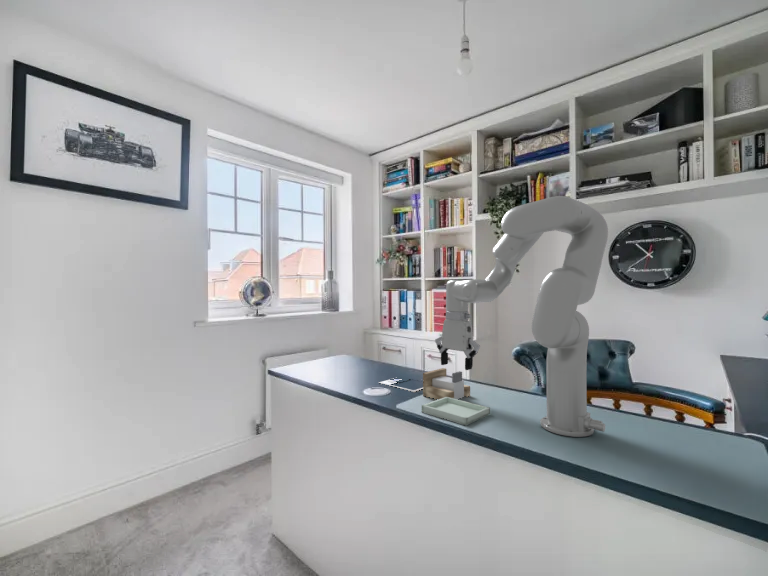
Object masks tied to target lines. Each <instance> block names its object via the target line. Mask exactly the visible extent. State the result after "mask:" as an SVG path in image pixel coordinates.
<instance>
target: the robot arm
mask: <svg viewBox="0 0 768 576" xmlns="http://www.w3.org/2000/svg"><path fill="white" fill-rule="evenodd" d="M500 223H501V225H500V227H501V230H502V233H504V234H503V236H501V237H500V239H499V240H498V241H497V243H496V244H495V245H494V246H493V248H492V250H491V251H492V255H493V257H494V258H495V264H494V265H495V266H494V268H493V269H492V270H491V272H490V273H489V274H488V276H487V277H486V278H485V279H474V278H472V279H466V280H463V279H451V280H448V281H447V282H446V286H445V287H446V288H445V291H446V292H445V294H446V295H445V319H444V320H443V325H442V333H441V336H439V337H437V338H435V340H434V342H435V344H436V348H437V349H438V351H439V353H440V365H441V366H445V365H448V363H449V353H448V351H449V350H451V351H456V352H457V351H458V352H463V353H464V355H465V359H464V369H465V371H469V370H473V364H474V363H473V362H474V361H473V359H474V357H475V356H476V355H478V351H479V350H480V348H481V345H480V344H479V343H477V342H476V341H475V340H474V335H473V326H472V321H470V320H469V319H472V314H471V313H470V311H469V303H470V304H478V303H489V302H490V303H491V302H492V301H494V300H496V299H497V298H498V297H499V296H500V295H501V294H502V293H503V292H504V291H505V290H506V288H507V287H508V286H509V284H510V283H511V282H512V279H513V277H514V274H515V270H516V267H517V265H518V263H520V261H521V260H522V259H523V258H524V257H525V255H527V253H528V252H529V251H530V250H531V249H532V247H533V246H534V245H535V244H536V243H537V242H538V240H539V239H540V238H541V237H542V236H543V234H544V233H547V232H553V231H556V232H561V233H566V234H569V235H570V236H571V240H570V242H569V243H568V245H567V248H566V251H565V256H564V260H563V263H562V266H561V267H558V268H555V269H553V270H552V271H550V272H548V273H547V274H546V275H545V277H544V279H543V280H542V282H541V284H540V288H539V290H538V291H539V292H538V295H537V299H536V303H535V308H534V311H533V312H534V313H533V316H532V322H531V332H532V337H534V340H535V341H536V342H537V343H538V344H539V345H540V346H542V347H544V348H547V352H546V371H545V372H546V373H545V374H546V416H544V417H542V418H541V419H540V426H541V427H542V428H543V429H545V430H546V431H548V432H551V433H554V434H557V435H561V436H566V437H575V438H576V437H577V438H582V437H583V438H584V437H590V436H592V435H593V434H594V431H595V430H596V431H599V432H603V433H604V432H605V431H606V423H603V421H602V420H598V419H593V417H591V412H588V409H587V407H588V406H587V405H588V402H587V399H588V398H587V371H588V370H587V364H588V363H587V360H588V359H587V357H588V356H587V355H588V346H589V345H588V344H589V338H590V326H589V322H588V320H587V318H586V317H585V316H584V315H583V314H582V312H579V311H578V310H577V308H578V306H580V305H585V304H586V303H588V302H590V300H592V299H593V297H594V295H595V291H596V288H597V284H598V283H597V282H598V278H599V275H600V270H601V267H602V261H603V258H604V253H605V250H606V246H607V242H608V239H609V238H608V236H609V228H608V227H609V226H608V223H607V220H606V219H605V218H604V216H603V215H602V213H600V212H599V211H598V210H596V208H594V207H592V206H590V205H588V204H586V202H585V203H584V202H582V201H580V200H576V199H574V198H572V197H569V196H564V195H556V196H551V197H546V198H542V199H539V200H536V201H535V200H534V201H531V202H528V203H523V204H521V205H520V204H519V205H517V206H514V207H512V208H510V209H509V210H508V211H506V213H505V214H504V215H503V217H502V218H501V222H500Z"/></svg>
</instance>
